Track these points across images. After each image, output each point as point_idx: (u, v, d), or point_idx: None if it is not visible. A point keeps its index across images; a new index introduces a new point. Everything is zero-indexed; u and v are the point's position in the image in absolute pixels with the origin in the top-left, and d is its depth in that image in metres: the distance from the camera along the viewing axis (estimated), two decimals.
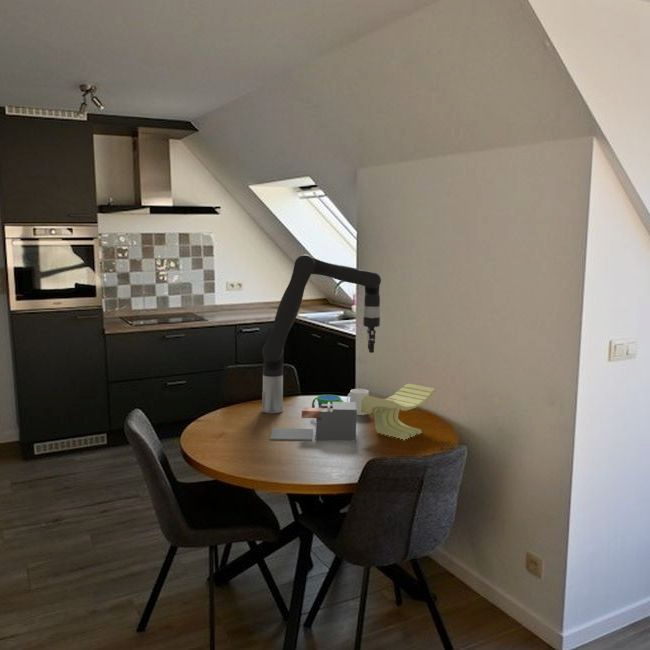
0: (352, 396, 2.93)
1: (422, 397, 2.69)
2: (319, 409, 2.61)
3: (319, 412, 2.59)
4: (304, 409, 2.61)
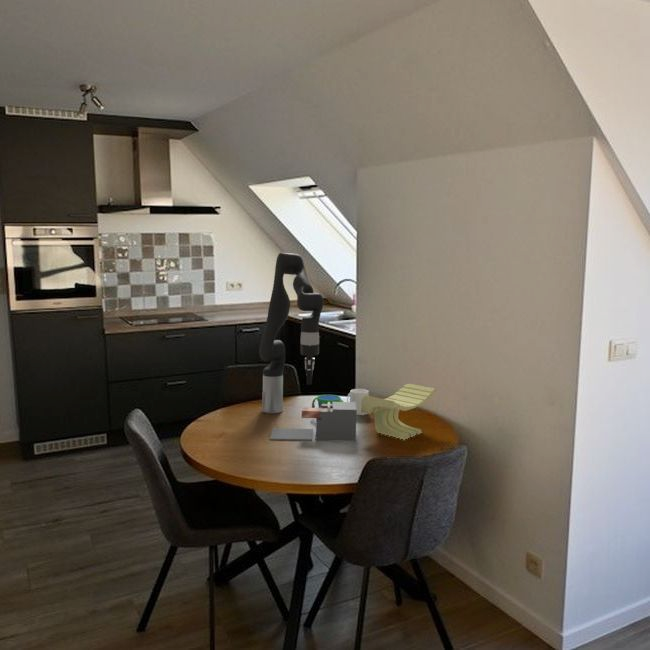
0: (352, 396, 2.93)
1: (422, 397, 2.69)
2: (319, 409, 2.61)
3: (319, 412, 2.59)
4: (304, 409, 2.61)
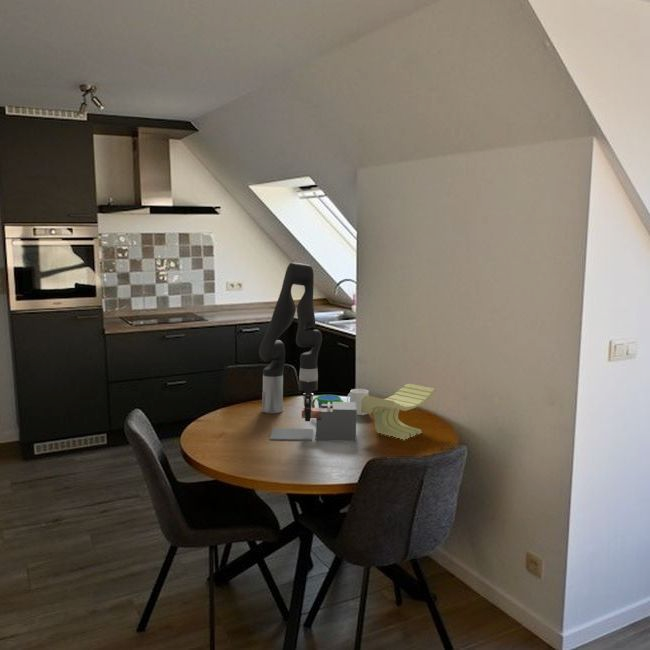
0: (352, 396, 2.93)
1: (422, 397, 2.69)
2: (319, 409, 2.61)
3: (319, 412, 2.59)
4: (304, 409, 2.61)
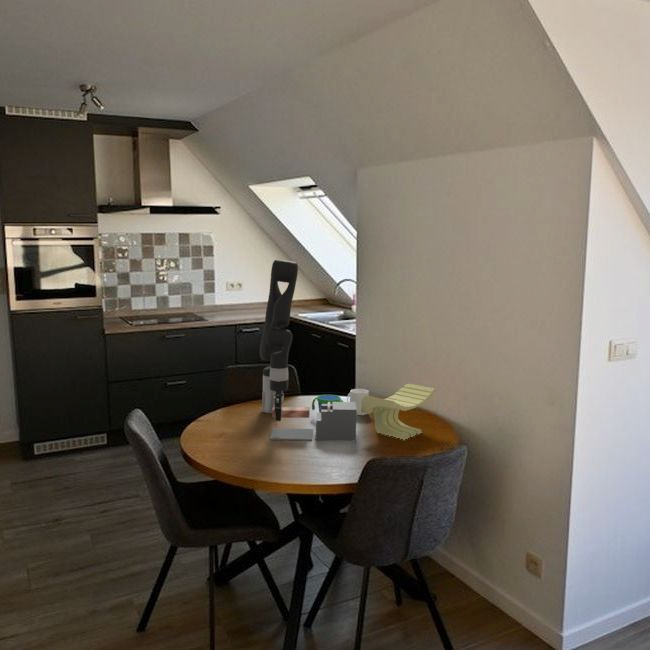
0: (352, 396, 2.93)
1: (422, 397, 2.69)
2: (290, 408, 2.61)
3: (290, 411, 2.59)
4: None
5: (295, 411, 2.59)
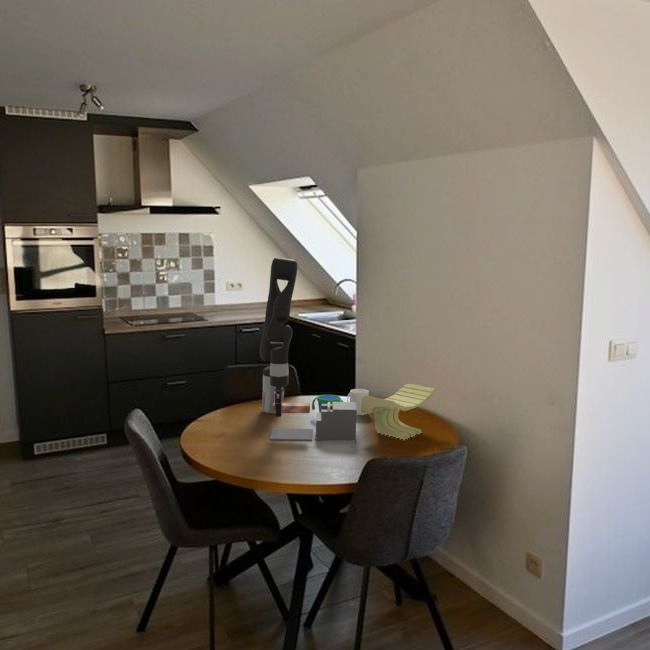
0: (352, 396, 2.93)
1: (422, 397, 2.69)
2: (290, 404, 2.61)
3: (290, 407, 2.58)
4: None
5: (296, 406, 2.58)
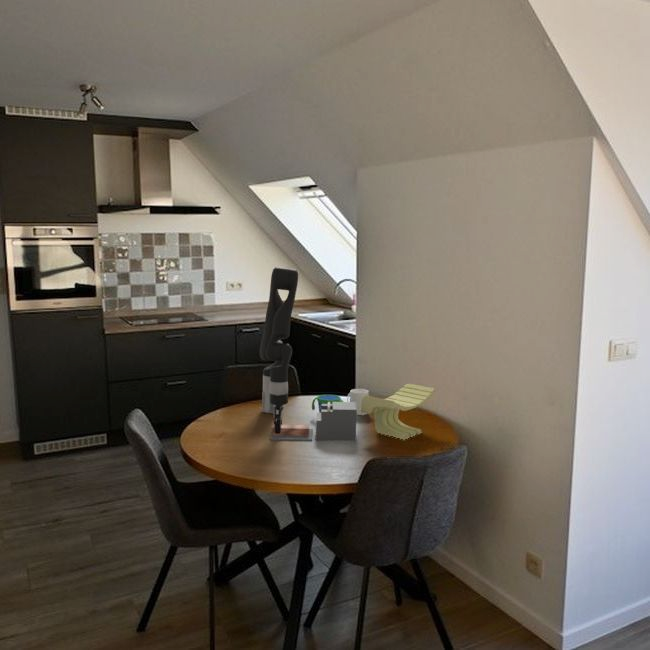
0: (352, 396, 2.93)
1: (422, 397, 2.69)
2: (289, 426, 2.62)
3: (289, 429, 2.60)
4: (274, 426, 2.62)
5: (295, 429, 2.60)
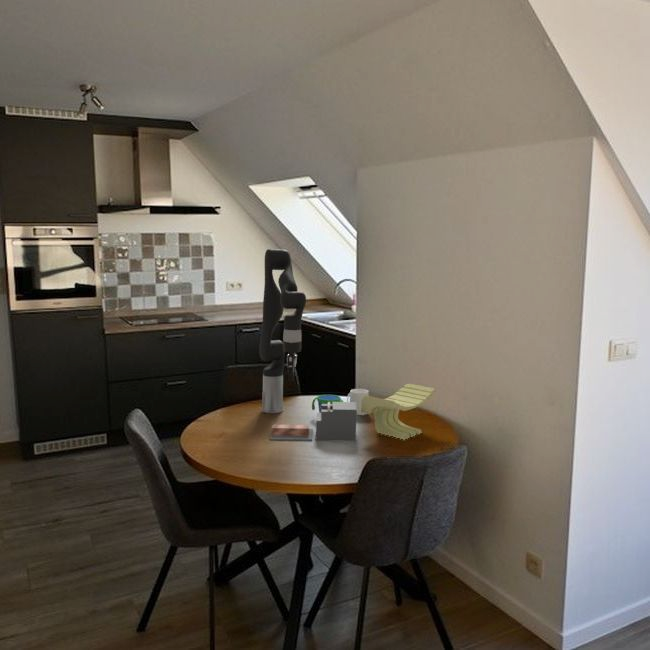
0: (352, 396, 2.93)
1: (422, 397, 2.69)
2: (289, 426, 2.62)
3: (289, 429, 2.60)
4: (274, 426, 2.62)
5: (295, 429, 2.60)
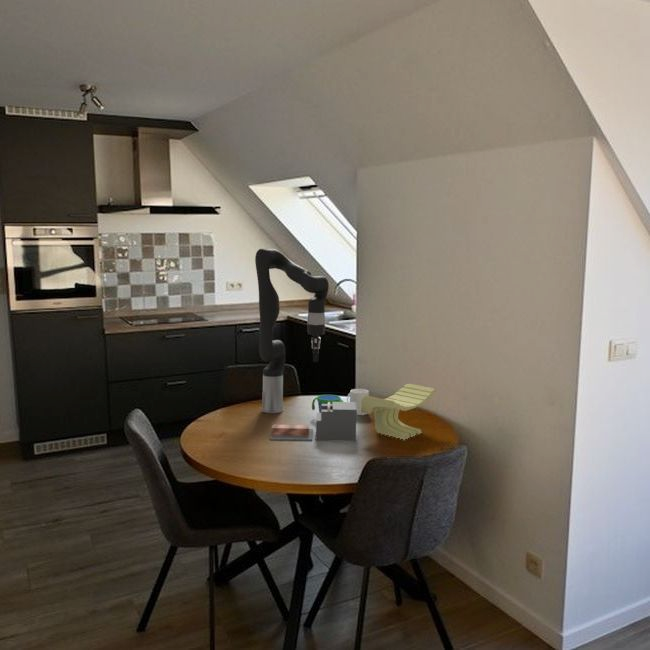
0: (352, 396, 2.93)
1: (422, 397, 2.69)
2: (289, 426, 2.62)
3: (289, 429, 2.60)
4: (274, 426, 2.62)
5: (295, 429, 2.60)
